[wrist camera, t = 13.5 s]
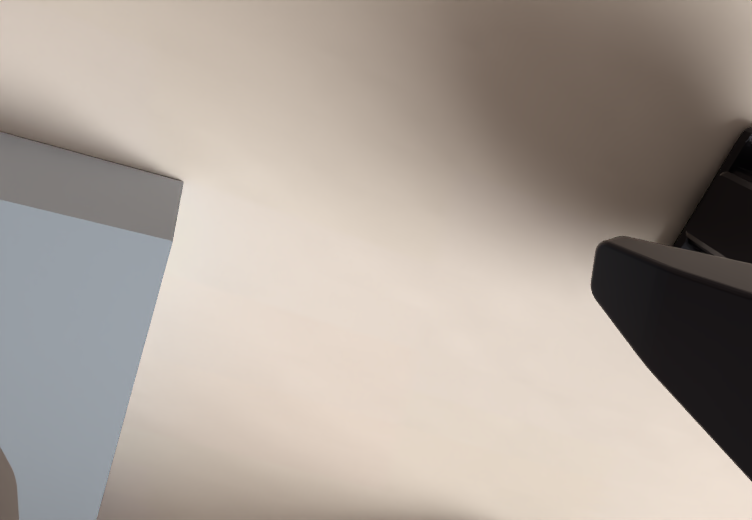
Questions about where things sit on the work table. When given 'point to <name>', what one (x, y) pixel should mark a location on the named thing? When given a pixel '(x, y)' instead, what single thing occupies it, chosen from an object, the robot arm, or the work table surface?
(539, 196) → the work table surface
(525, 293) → the work table surface
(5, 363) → the hole block
